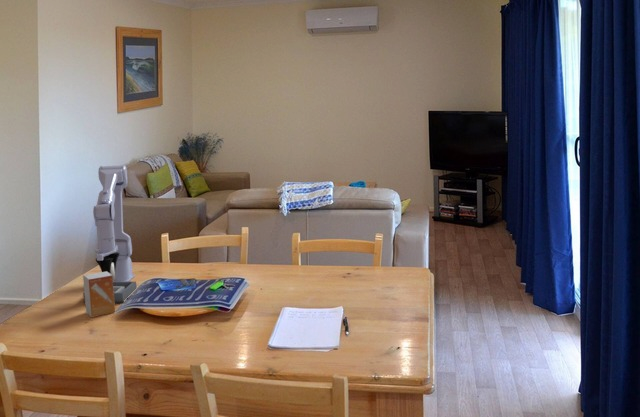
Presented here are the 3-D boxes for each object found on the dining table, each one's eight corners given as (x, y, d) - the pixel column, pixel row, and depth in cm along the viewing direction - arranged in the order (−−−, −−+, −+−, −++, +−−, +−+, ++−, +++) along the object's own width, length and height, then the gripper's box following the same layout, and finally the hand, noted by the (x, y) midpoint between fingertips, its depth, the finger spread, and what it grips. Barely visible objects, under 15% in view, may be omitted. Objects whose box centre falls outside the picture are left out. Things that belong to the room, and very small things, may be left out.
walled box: (99, 290, 265) (98, 281, 264) (136, 290, 263) (136, 281, 263) (84, 302, 251) (83, 293, 250) (123, 303, 250) (122, 293, 249)
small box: (91, 317, 235) (88, 279, 233) (85, 312, 241) (82, 275, 238) (116, 312, 240) (112, 274, 237) (109, 307, 245) (106, 270, 243)
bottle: (106, 278, 258) (104, 258, 257) (117, 278, 258) (115, 257, 256) (101, 281, 254) (99, 261, 253) (112, 281, 254) (110, 260, 252)
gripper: (103, 233, 260) (106, 269, 263) (86, 242, 246) (90, 281, 249) (122, 233, 260) (124, 269, 262) (106, 242, 246) (110, 281, 248)
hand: (109, 275), depth 256 cm, fingers closed on bottle, 4 cm apart
